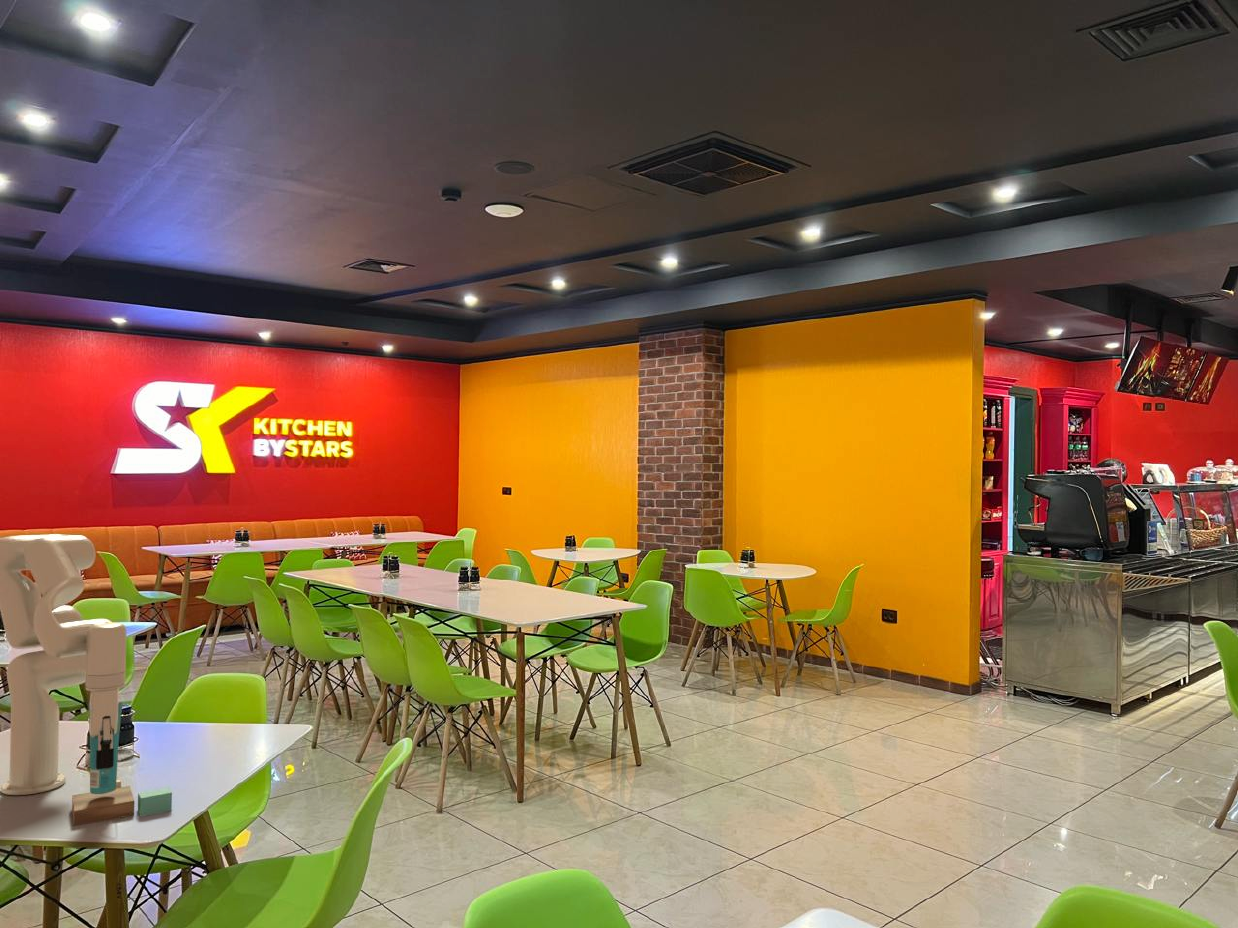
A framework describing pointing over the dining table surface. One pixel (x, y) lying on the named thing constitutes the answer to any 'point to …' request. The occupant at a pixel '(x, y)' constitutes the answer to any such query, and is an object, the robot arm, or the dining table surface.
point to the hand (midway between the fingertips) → (103, 763)
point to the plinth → (102, 806)
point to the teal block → (154, 801)
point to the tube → (106, 777)
